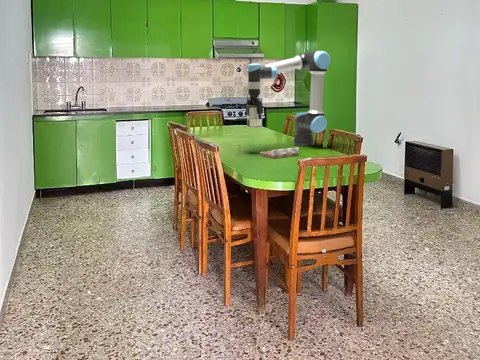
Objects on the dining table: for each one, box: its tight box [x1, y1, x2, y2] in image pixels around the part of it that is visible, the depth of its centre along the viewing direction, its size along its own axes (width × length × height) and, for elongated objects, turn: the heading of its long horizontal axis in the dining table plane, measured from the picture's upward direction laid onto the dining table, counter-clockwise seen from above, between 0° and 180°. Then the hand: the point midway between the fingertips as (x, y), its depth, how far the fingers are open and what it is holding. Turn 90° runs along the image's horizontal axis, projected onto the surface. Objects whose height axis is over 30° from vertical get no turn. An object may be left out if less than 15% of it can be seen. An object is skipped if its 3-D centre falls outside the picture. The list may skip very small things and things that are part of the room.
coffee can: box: [245, 104, 263, 129], centre depth 324 cm, size 10×10×14 cm
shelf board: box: [259, 146, 300, 159], centre depth 318 cm, size 20×14×5 cm
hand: (254, 123), depth 325 cm, fingers closed on coffee can, 10 cm apart
